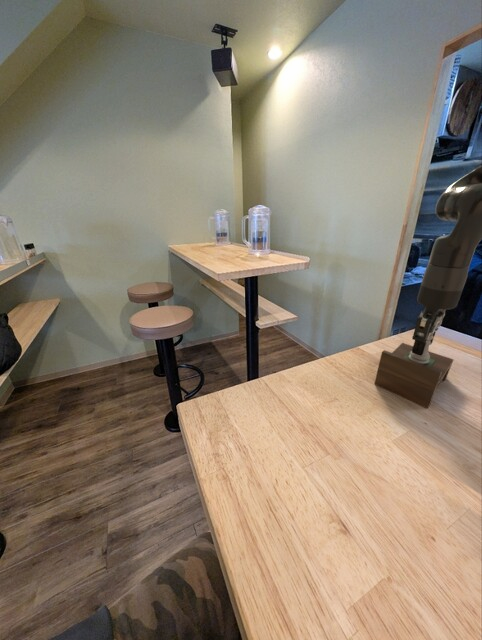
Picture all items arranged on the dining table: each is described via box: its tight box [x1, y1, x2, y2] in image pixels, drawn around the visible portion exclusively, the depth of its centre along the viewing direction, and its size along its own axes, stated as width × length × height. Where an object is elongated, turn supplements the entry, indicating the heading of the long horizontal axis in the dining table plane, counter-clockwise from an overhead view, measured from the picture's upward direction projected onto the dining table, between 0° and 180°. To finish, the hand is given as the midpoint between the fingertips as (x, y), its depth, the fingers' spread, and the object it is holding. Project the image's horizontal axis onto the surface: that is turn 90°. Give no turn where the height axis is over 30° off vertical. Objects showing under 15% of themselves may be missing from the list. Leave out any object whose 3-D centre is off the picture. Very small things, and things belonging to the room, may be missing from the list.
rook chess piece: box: [409, 333, 435, 364], centre depth 63 cm, size 4×4×8 cm
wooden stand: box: [374, 342, 455, 409], centre depth 65 cm, size 16×12×10 cm
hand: (421, 348), depth 63 cm, fingers open, 6 cm apart
